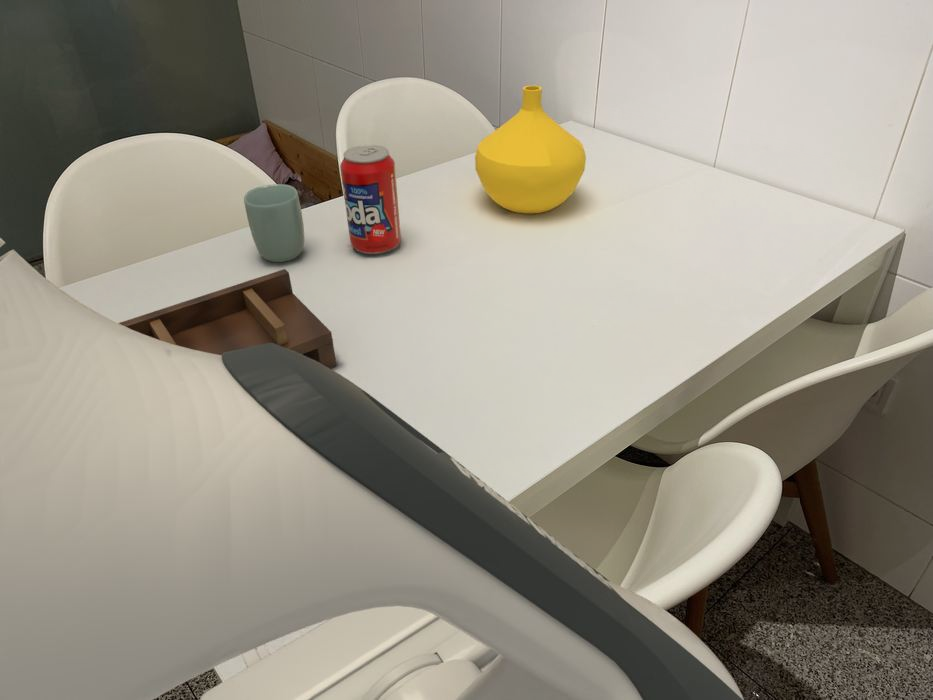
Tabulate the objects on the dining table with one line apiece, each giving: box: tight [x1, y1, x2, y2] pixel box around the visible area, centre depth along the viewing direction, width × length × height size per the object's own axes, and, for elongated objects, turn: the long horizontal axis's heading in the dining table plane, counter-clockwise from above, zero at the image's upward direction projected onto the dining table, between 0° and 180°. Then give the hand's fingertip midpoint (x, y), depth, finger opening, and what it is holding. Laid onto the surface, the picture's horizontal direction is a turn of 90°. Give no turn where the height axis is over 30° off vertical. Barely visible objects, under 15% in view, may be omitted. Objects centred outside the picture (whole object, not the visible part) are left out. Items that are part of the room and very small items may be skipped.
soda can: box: [339, 144, 402, 255], centre depth 104 cm, size 8×8×15 cm
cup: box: [243, 183, 305, 263], centre depth 104 cm, size 8×8×10 cm
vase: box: [474, 85, 587, 215], centre depth 115 cm, size 18×18×19 cm
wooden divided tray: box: [118, 268, 337, 369], centre depth 81 cm, size 22×12×8 cm, turn 125°
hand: (319, 570), depth 47 cm, fingers open, 8 cm apart
